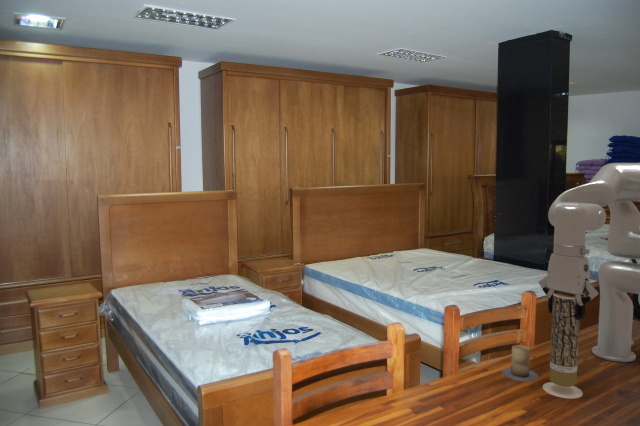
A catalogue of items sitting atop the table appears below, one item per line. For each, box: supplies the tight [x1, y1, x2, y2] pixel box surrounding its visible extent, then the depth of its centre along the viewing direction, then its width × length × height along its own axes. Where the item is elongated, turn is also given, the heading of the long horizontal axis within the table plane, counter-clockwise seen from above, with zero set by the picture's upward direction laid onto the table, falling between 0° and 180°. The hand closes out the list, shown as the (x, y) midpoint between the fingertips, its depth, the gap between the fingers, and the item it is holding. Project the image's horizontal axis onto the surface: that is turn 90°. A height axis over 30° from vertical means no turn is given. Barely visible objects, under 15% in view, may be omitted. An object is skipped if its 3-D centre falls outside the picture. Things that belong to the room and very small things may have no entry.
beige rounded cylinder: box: [510, 344, 531, 378], centre depth 149 cm, size 5×5×8 cm
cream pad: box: [542, 381, 584, 400], centre depth 139 cm, size 10×10×1 cm
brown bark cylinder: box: [548, 291, 581, 387], centre depth 137 cm, size 7×7×25 cm
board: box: [501, 366, 539, 382], centre depth 144 cm, size 12×23×1 cm, turn 35°
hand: (565, 314), depth 137 cm, fingers closed on brown bark cylinder, 6 cm apart
